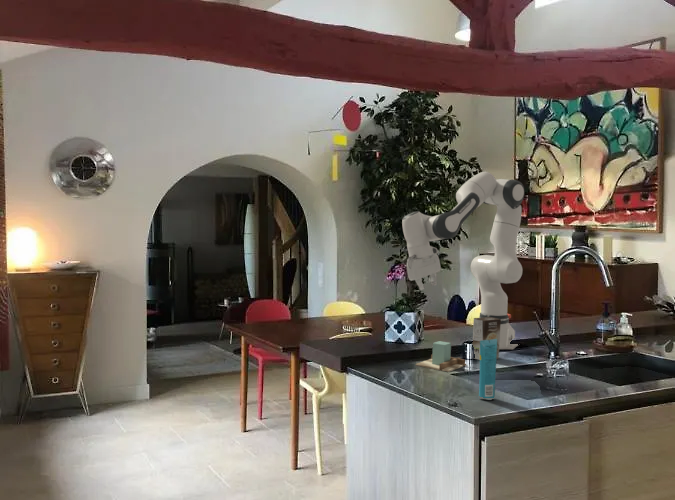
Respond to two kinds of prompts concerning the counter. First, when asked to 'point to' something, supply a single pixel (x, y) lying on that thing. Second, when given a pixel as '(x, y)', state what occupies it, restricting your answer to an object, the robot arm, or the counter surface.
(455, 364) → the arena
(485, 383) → the tube
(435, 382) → the counter surface
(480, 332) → the coffee box
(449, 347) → the block
